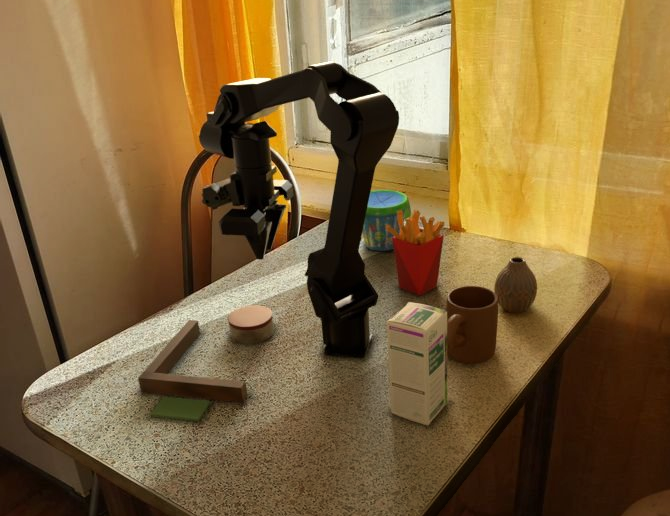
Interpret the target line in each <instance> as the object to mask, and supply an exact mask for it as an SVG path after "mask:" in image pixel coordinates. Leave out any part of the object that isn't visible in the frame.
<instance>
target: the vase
mask: <svg viewBox="0 0 670 516" xmlns="http://www.w3.org/2000/svg"><path fill="white" fill-rule="evenodd" d="M493 290H494V291H493V292H494V293H495V294H496V295H497V297H498V306H499V307H501V309H503V310H504V311H506V312H509V313H514V314H515V313H523V312H525V311H526V310H528V309H529V308H531V306H532V305H533V304H534V302H535V300H536V297H537V293H538V282H537V278H536V275H535V274H534V272H533V271H532V269H531V268H530V267H529V265H528V264H527V261H526V259H525V258H523V257H520V256H519V257H518V256H515V257H511V258H510V259H509V261H508V262H507V264H506V265H504V267H503V268H501V270H500V271H499V273H498V274H497V276H496V278H495V281H494V289H493Z"/></svg>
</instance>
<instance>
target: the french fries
mask: <svg viewBox="0 0 670 516" xmlns="http://www.w3.org/2000/svg"><path fill="white" fill-rule="evenodd" d="M420 215H421V212H420V210H418V209H414V210H413V212H412V213H411V217H410V218H407V219H404V222H403V212H402V210H399V211H397V219H398V224H399V227H400V234H398V233H397V232H396V231H395V230H393V229H392V228H391V226H390V225H388V224H387V225H386V227H385V228H386V229H387V230H388V231H389V232H390V233H392V234H393V235H394V236H395V237H393V238H392V241H393V248H394V249H393V254H394V261H395V268H396V275H397V281H398V288H399V289H402V290H405V291H407V292H409V293H412V294H415V295H417V296H422V295H423V294H425V293H427V292H429V291H431V290H432V289H434V288H436V287H437V286H438V281H439V273H440V267H441V266H440V265H441V259H442V253H443V244H444V235H443V234H440V233H441V231H442V229H443V228H444V226H445V221H442V220H441V221H437V222H436V223H434V222H435V217H434V216H432V217H429V219H428V222H427V219H426V217H425V215H422V216H420ZM419 222H421V224H422V227H423V228H420V223H419Z"/></svg>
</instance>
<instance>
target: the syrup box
mask: <svg viewBox="0 0 670 516" xmlns="http://www.w3.org/2000/svg"><path fill="white" fill-rule="evenodd" d="M386 334H387V335H386V336H387V355H388V356H387V359H388V360H387V361H388V377H389V398H390V400H389V401H390V413H391V414H392V415H396V416H398V417H400V418H403V419H406V420H409V421H412V422H414V423H418V424H421V425H424V426H426V427H427V426H429V425H430V424H431V422H432V421H433V420H434V419H435V418H436V417H437V416H438V415H439V413H440V412H441V411H442V410H443V409H444V407H445V406H446V405H447V404H448V353H447V311H446V309H443V308H438V307H436V306H432V305H428V304H423V303H418V302H412V301H408V302H407V303H406V305H405V306H404V307H402V308H401V309H400V310H399V311H397V312H396V313H395V314H394V315H392V316H391V317H390V318H389V319H388V320H387V321H386Z"/></svg>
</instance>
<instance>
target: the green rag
mask: <svg viewBox="0 0 670 516" xmlns="http://www.w3.org/2000/svg"><path fill="white" fill-rule="evenodd" d="M210 406H211V401H210V400H202V399H201V400H199V399H191V398H182V397H171V396H163V397H162V398H161V400H160V401H159V403H158V404H157V405H156V406H155V408H154V409H153V410H152V411H151V413H150V417H153V418H161V419H162V418H163V419H170V420H181V421H190V422H199V421H200V420H201V419H202V417H203V415H204V414H205V412H206V411H207V410H208V408H209V407H210Z"/></svg>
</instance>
